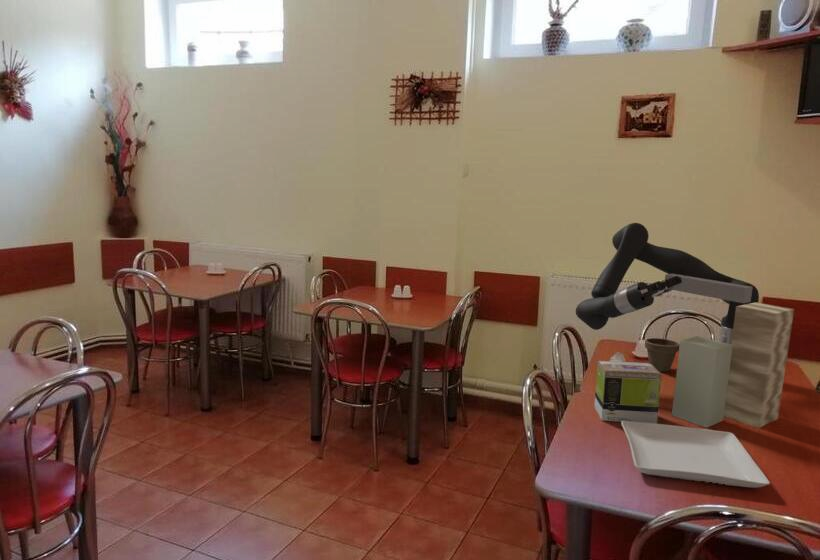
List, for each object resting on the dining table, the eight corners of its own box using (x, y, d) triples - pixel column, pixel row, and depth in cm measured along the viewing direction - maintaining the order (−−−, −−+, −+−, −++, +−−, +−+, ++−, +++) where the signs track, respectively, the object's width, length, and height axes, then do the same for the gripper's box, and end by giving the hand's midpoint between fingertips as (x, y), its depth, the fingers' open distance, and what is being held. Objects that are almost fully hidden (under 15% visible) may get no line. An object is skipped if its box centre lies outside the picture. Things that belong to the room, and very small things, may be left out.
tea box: (646, 411, 169) (651, 362, 167) (657, 425, 160) (663, 373, 157) (593, 407, 171) (597, 358, 168) (600, 421, 161) (605, 369, 158)
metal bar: (671, 287, 171) (672, 273, 171) (750, 301, 154) (752, 286, 153) (663, 288, 169) (665, 274, 168) (743, 303, 152) (745, 288, 151)
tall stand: (741, 407, 175) (755, 302, 170) (777, 418, 167) (794, 309, 162) (721, 415, 168) (736, 306, 163) (758, 428, 160) (775, 313, 155)
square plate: (730, 444, 150) (732, 430, 149) (769, 500, 124) (772, 483, 123) (619, 431, 156) (620, 417, 155) (633, 481, 130) (635, 464, 129)
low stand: (688, 408, 172) (697, 336, 169) (722, 420, 165) (732, 344, 161) (671, 415, 167) (680, 340, 163) (706, 427, 159) (716, 349, 155)
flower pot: (639, 362, 216) (642, 336, 215) (672, 365, 214) (675, 338, 213) (645, 372, 205) (648, 344, 204) (680, 375, 203) (683, 347, 201)
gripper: (615, 288, 176) (665, 267, 163) (642, 285, 184) (691, 264, 171) (624, 312, 174) (675, 293, 161) (651, 307, 182) (701, 288, 169)
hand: (683, 278), depth 166 cm, fingers closed on metal bar, 4 cm apart
